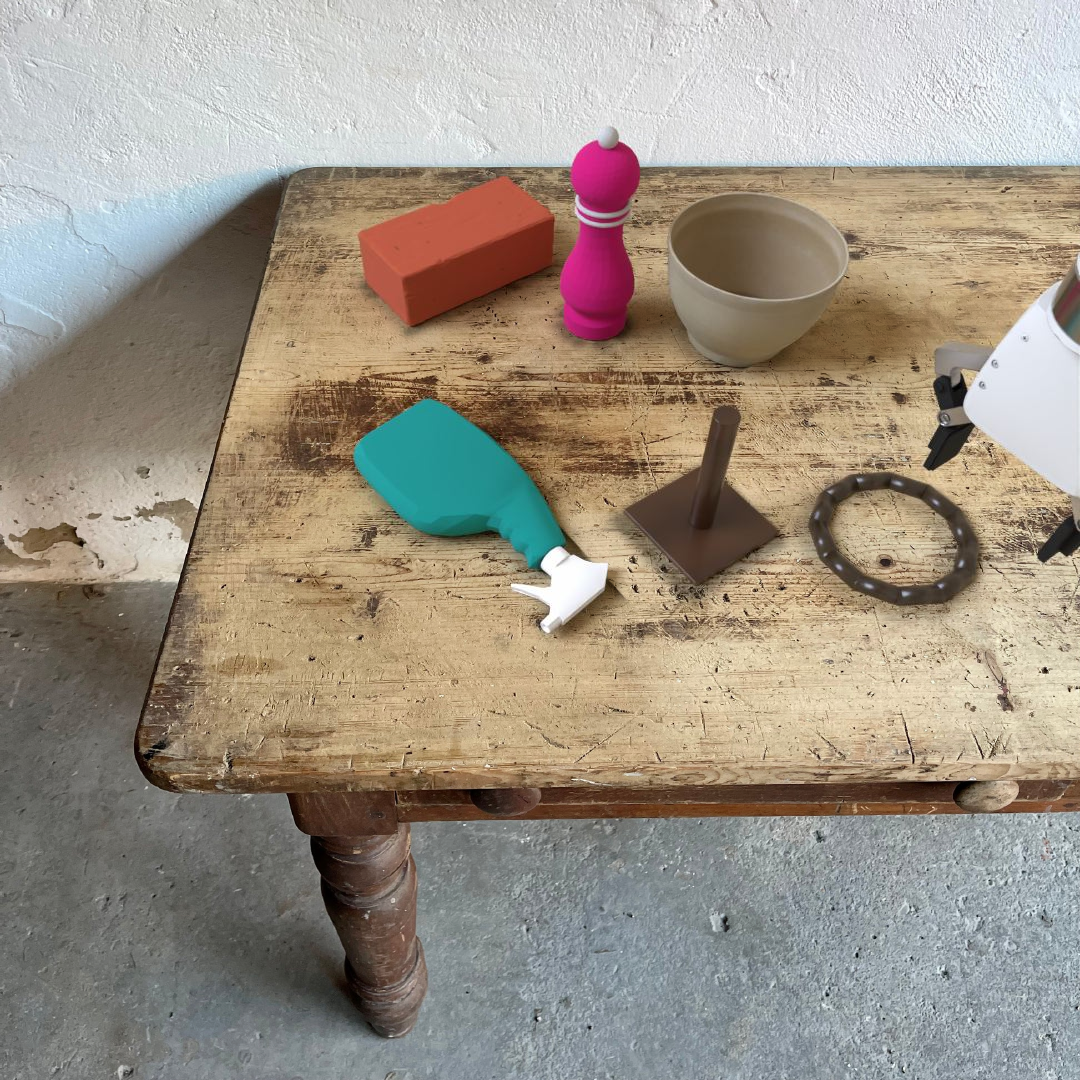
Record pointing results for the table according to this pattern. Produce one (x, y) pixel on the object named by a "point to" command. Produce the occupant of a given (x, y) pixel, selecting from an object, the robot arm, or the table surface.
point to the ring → (879, 588)
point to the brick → (457, 249)
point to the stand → (703, 511)
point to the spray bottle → (474, 498)
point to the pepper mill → (600, 239)
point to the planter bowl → (751, 273)
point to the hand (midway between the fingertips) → (993, 504)
